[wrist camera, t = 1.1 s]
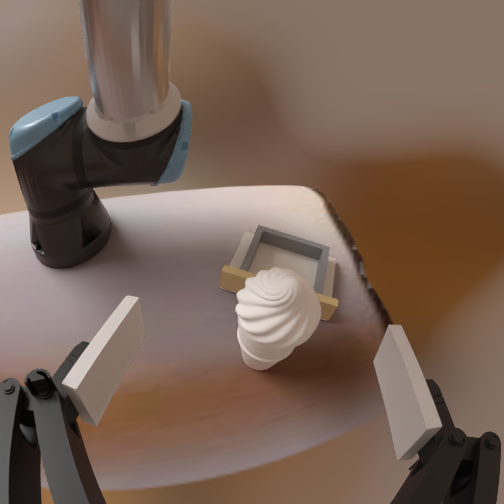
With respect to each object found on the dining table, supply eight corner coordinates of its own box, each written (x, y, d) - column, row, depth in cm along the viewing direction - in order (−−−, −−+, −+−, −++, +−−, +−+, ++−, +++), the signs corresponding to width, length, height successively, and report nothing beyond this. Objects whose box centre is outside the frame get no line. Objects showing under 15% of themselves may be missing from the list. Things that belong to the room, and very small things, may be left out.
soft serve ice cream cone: (223, 328, 38) (236, 237, 26) (284, 325, 39) (323, 239, 28) (229, 388, 32) (248, 319, 21) (297, 382, 34) (351, 312, 22)
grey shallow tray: (245, 234, 51) (248, 214, 48) (334, 262, 49) (343, 244, 46) (219, 290, 42) (221, 270, 39) (326, 323, 40) (337, 306, 37)
